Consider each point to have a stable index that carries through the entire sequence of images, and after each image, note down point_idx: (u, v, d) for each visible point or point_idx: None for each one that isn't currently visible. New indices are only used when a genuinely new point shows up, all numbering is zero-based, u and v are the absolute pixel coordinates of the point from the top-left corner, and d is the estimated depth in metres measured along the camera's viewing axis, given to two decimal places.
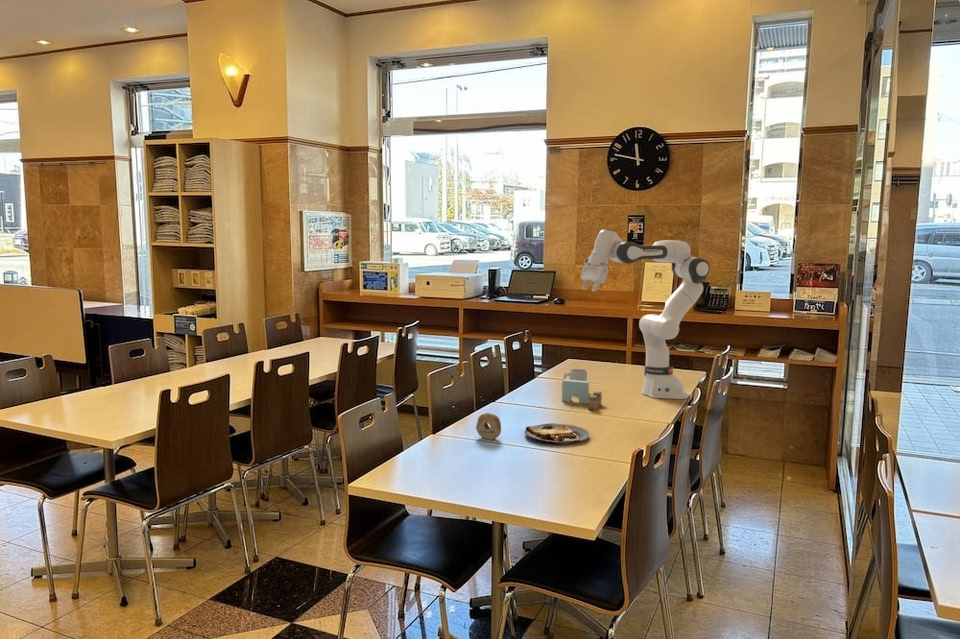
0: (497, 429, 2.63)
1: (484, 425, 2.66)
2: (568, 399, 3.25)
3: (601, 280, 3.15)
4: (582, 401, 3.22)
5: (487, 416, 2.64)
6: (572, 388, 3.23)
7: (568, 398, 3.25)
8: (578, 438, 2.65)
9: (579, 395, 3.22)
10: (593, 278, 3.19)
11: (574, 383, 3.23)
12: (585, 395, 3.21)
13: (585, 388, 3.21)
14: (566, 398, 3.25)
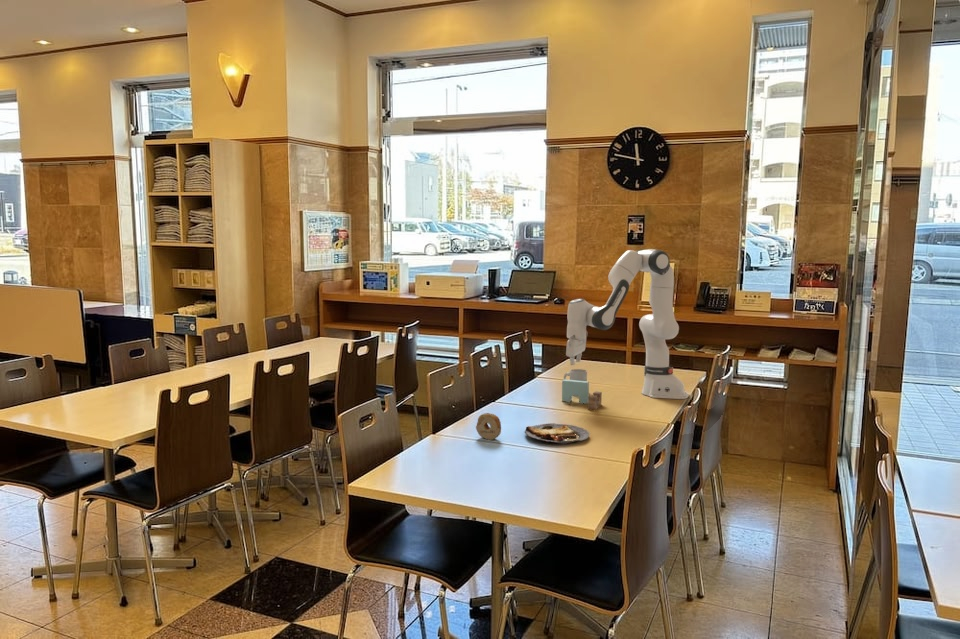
0: (497, 429, 2.63)
1: (484, 425, 2.66)
2: (568, 399, 3.25)
3: (568, 354, 3.13)
4: (582, 401, 3.22)
5: (487, 416, 2.64)
6: (572, 388, 3.23)
7: (568, 398, 3.25)
8: (578, 438, 2.65)
9: (579, 395, 3.22)
10: None
11: (574, 383, 3.23)
12: (585, 395, 3.21)
13: (585, 388, 3.21)
14: (566, 398, 3.25)
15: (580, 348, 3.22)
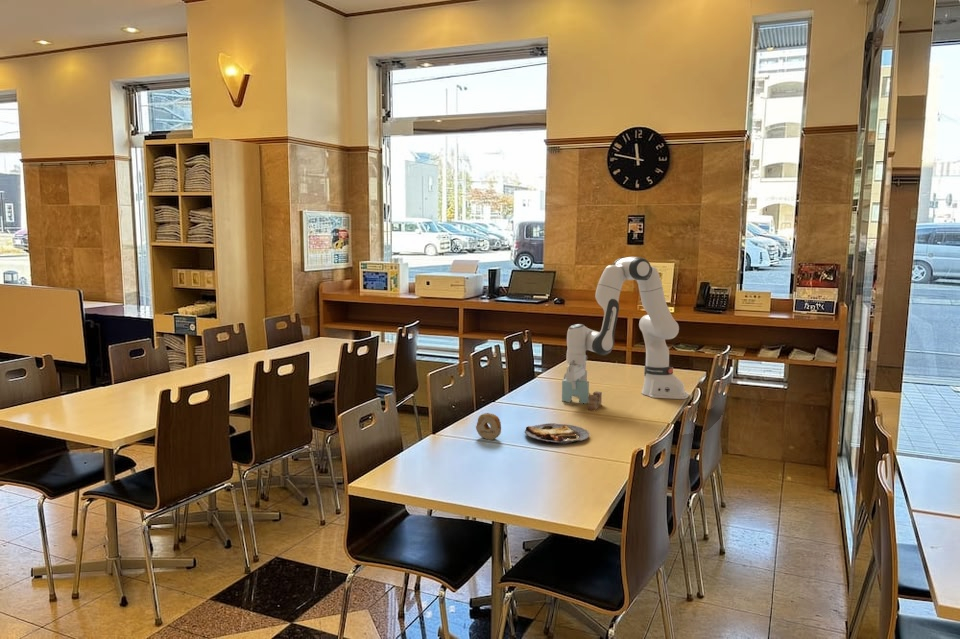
0: (497, 429, 2.63)
1: (484, 425, 2.66)
2: (568, 399, 3.25)
3: (568, 380, 3.15)
4: (582, 401, 3.22)
5: (487, 416, 2.64)
6: None
7: (568, 398, 3.25)
8: (578, 438, 2.65)
9: (579, 395, 3.22)
10: None
11: None
12: (585, 395, 3.21)
13: (585, 388, 3.21)
14: (566, 398, 3.25)
15: (580, 373, 3.24)
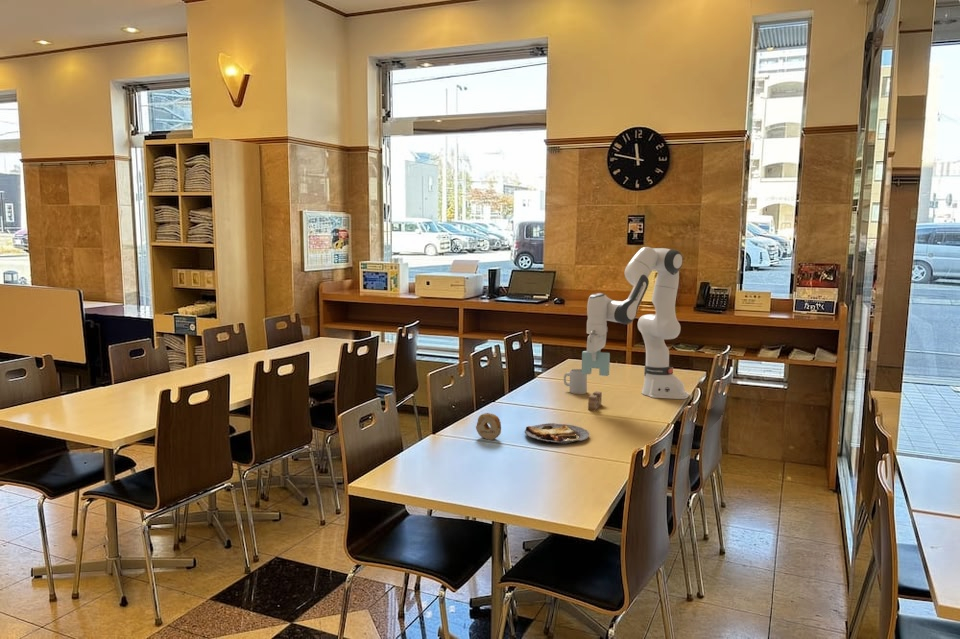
0: (497, 429, 2.63)
1: (484, 425, 2.66)
2: (588, 371, 3.13)
3: (589, 351, 3.03)
4: (603, 373, 3.10)
5: (487, 416, 2.64)
6: None
7: (588, 370, 3.13)
8: (578, 438, 2.65)
9: (599, 367, 3.10)
10: None
11: None
12: (606, 367, 3.09)
13: (606, 359, 3.09)
14: (585, 370, 3.13)
15: (600, 344, 3.12)
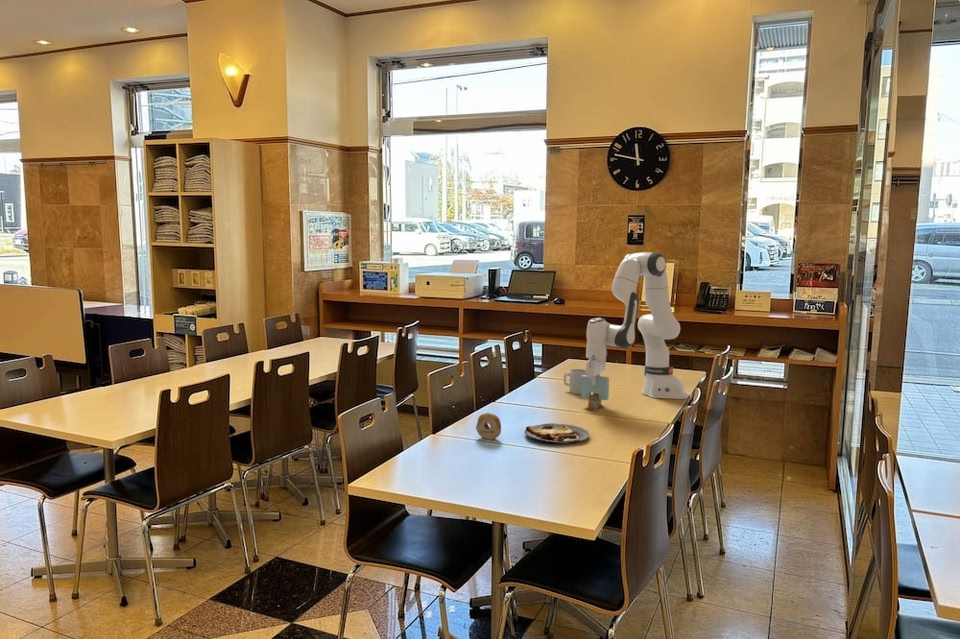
0: (497, 429, 2.63)
1: (484, 425, 2.66)
2: (587, 395, 3.14)
3: (588, 375, 3.04)
4: (602, 397, 3.12)
5: (487, 416, 2.64)
6: None
7: (587, 394, 3.14)
8: (578, 438, 2.65)
9: (598, 391, 3.12)
10: None
11: None
12: (605, 391, 3.11)
13: (605, 384, 3.10)
14: (585, 394, 3.15)
15: (600, 368, 3.13)
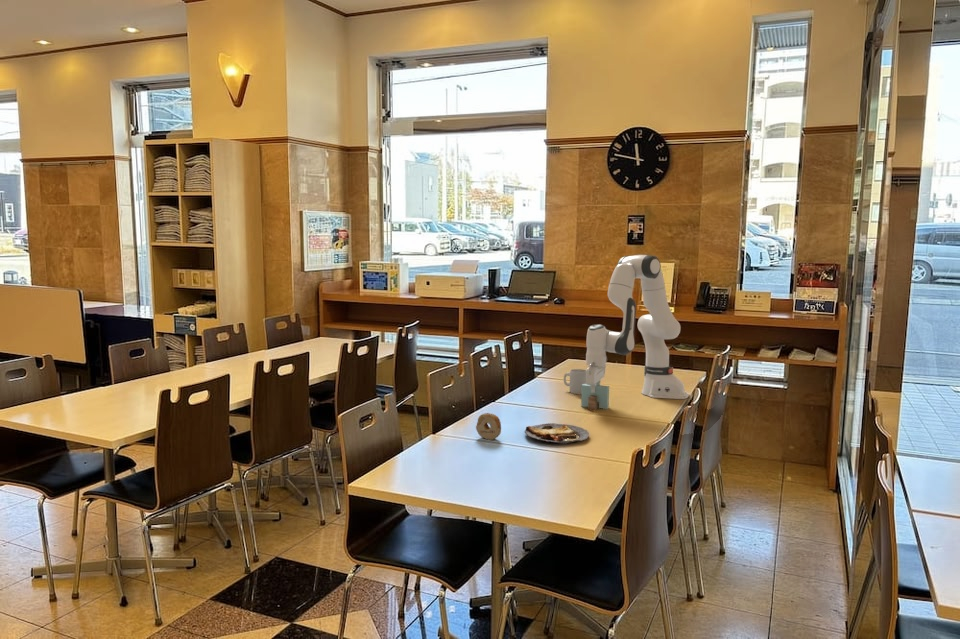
0: (497, 429, 2.63)
1: (484, 425, 2.66)
2: (587, 404, 3.15)
3: (589, 383, 3.05)
4: (602, 406, 3.12)
5: (487, 416, 2.64)
6: None
7: (587, 403, 3.15)
8: (578, 438, 2.65)
9: (599, 400, 3.12)
10: None
11: None
12: (606, 400, 3.11)
13: (605, 393, 3.11)
14: (585, 403, 3.15)
15: (600, 375, 3.14)
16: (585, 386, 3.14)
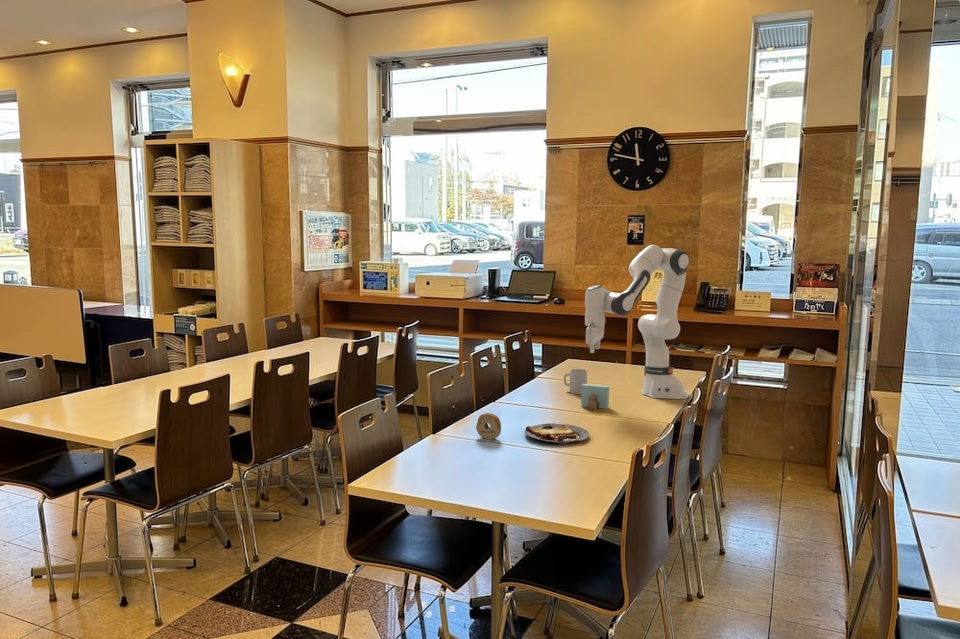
0: (497, 429, 2.63)
1: (484, 425, 2.66)
2: (587, 404, 3.15)
3: (588, 342, 3.08)
4: (602, 406, 3.12)
5: (487, 416, 2.64)
6: (592, 392, 3.13)
7: (587, 403, 3.15)
8: (578, 438, 2.65)
9: (599, 400, 3.12)
10: None
11: (594, 388, 3.13)
12: (606, 400, 3.11)
13: (605, 393, 3.11)
14: (585, 403, 3.15)
15: (599, 335, 3.17)
16: (585, 386, 3.14)
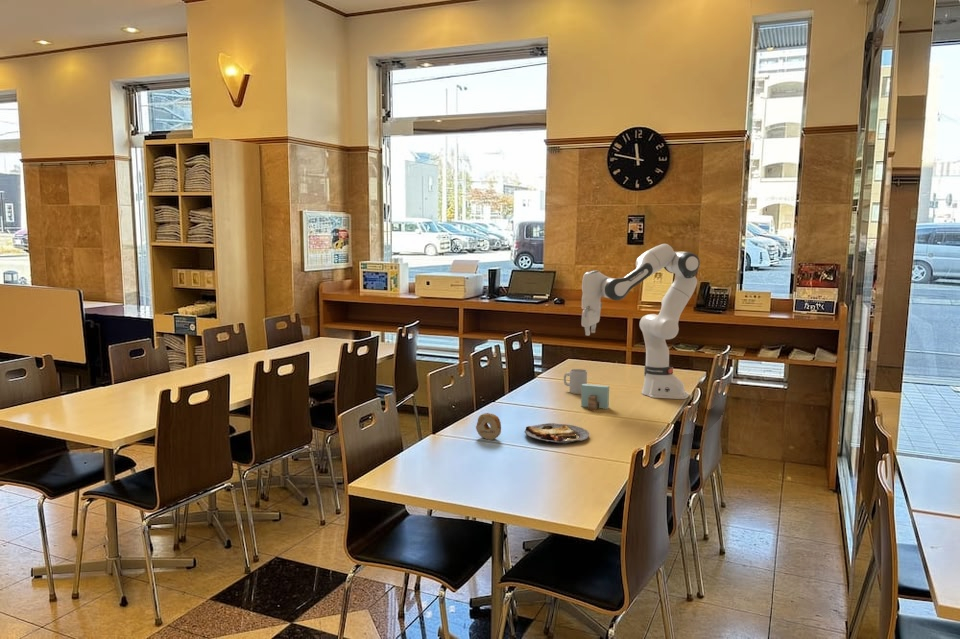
0: (497, 429, 2.63)
1: (484, 425, 2.66)
2: (587, 404, 3.15)
3: (584, 324, 3.19)
4: (602, 406, 3.12)
5: (487, 416, 2.64)
6: (592, 392, 3.13)
7: (587, 403, 3.15)
8: (578, 438, 2.65)
9: (599, 400, 3.12)
10: None
11: (594, 388, 3.13)
12: (606, 400, 3.11)
13: (605, 393, 3.11)
14: (585, 403, 3.15)
15: (595, 319, 3.28)
16: (585, 386, 3.14)
